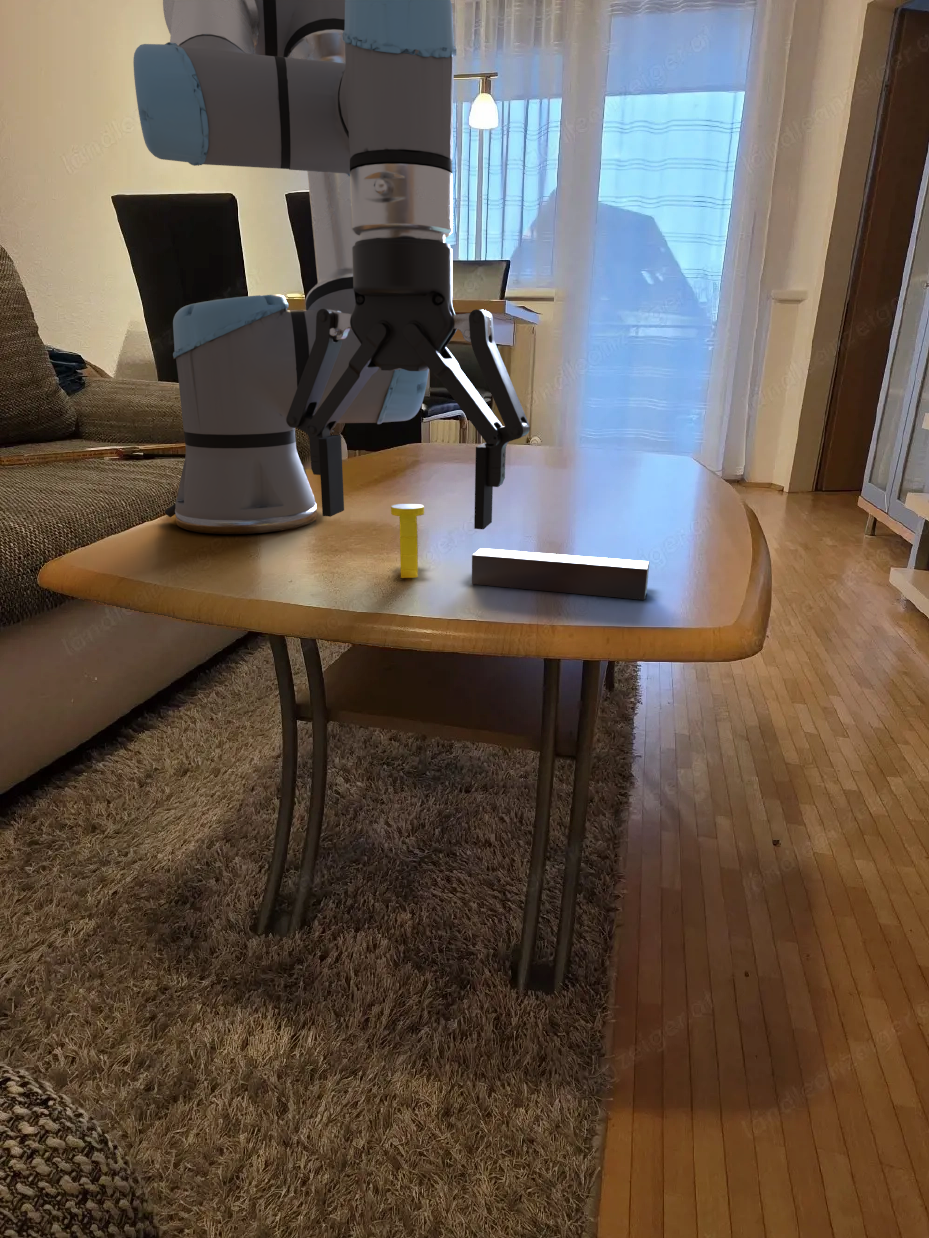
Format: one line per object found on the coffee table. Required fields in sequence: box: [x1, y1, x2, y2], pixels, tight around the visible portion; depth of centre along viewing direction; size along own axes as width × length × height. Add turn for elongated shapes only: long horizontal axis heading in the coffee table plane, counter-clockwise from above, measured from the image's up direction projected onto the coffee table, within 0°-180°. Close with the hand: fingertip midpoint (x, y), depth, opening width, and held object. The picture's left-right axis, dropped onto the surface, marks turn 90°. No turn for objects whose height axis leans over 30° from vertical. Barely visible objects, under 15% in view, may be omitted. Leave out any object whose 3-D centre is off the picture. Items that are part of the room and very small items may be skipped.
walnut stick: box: [471, 547, 650, 601], centre depth 61 cm, size 14×2×2 cm, turn 73°
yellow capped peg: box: [390, 503, 425, 579], centre depth 64 cm, size 6×3×6 cm, turn 5°
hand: (406, 519), depth 64 cm, fingers open, 13 cm apart
